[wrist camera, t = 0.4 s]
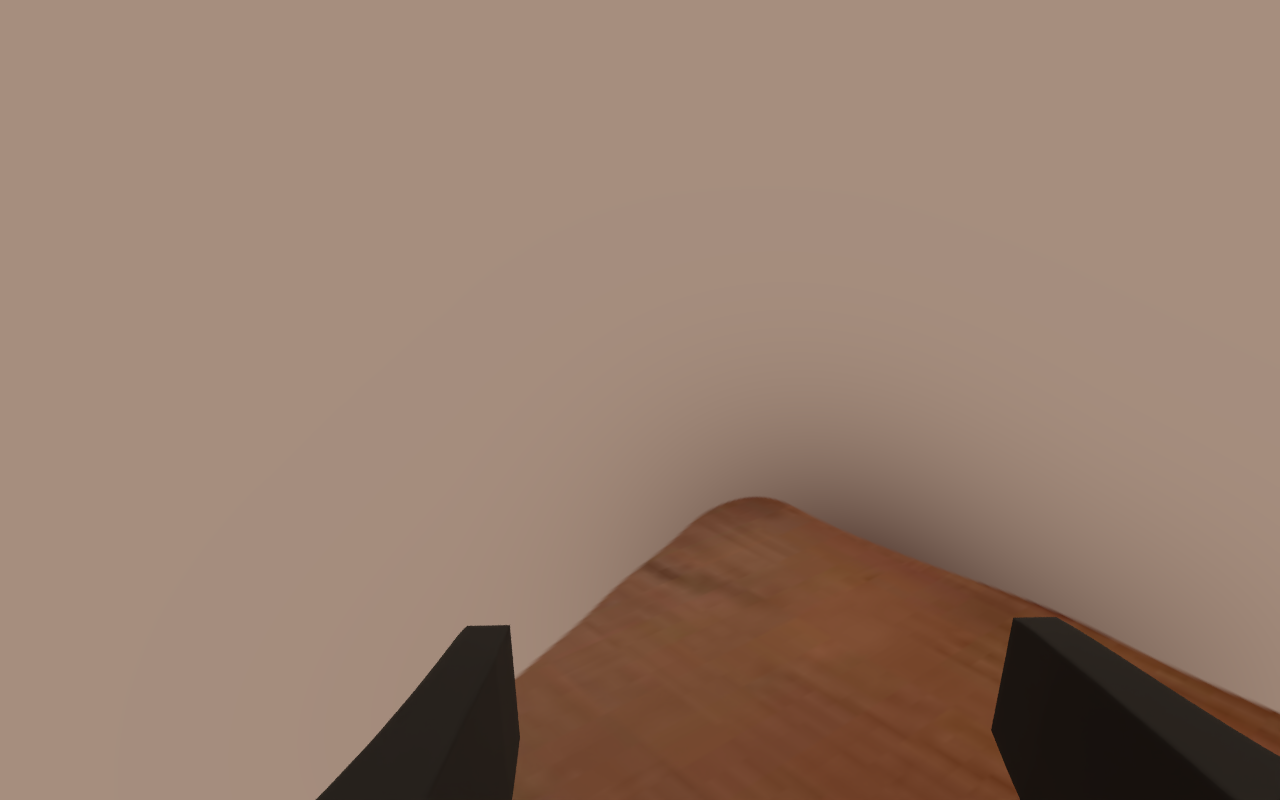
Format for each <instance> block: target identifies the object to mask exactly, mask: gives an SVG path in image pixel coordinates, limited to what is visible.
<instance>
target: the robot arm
mask: <svg viewBox="0 0 1280 800" xmlns="http://www.w3.org/2000/svg"><path fill="white" fill-rule="evenodd" d="M991 731H992V733H993V736H994V738H995V741H996V743H997V746H998V748H999V751H1000V753H1001V756H1002V758H1003V761H1004V763H1005V766H1006V768H1007V770H1008V773H1009V775H1010V777H1011V779H1012V782H1013V784H1014V786H1015V789H1016V791H1017V793H1018V795H1019V798H1020V800H1280V757H1279V756H1278V755H1276V754H1274V753H1273V752H1271V751H1269V750H1267V749H1266V748H1264V747H1262V746H1261V745H1259V744H1257V743H1256V742H1254V741H1252V740H1251V739H1249V738H1248V737H1246V736H1244V735H1243V734H1241V733H1239V732H1238V731H1236V730H1234V729H1233V728H1231V727H1230V726H1228V725H1226V724H1225V723H1223V722H1222V721H1220V720H1218V719H1217V718H1215V717H1214V716H1212V715H1210V714H1209V713H1207V712H1206V711H1204V710H1202V709H1201V708H1199V707H1198V706H1196V705H1195V704H1193V703H1191V702H1190V701H1188V700H1187V699H1185V698H1184V697H1182V696H1180V695H1179V694H1177V693H1176V692H1174V691H1173V690H1171V689H1170V688H1168V687H1167V686H1165V685H1163V684H1162V683H1160V682H1159V681H1157V680H1156V679H1154V678H1153V677H1151V676H1150V675H1148V674H1146V673H1145V672H1143V671H1142V670H1140V669H1139V668H1137V667H1136V666H1134V665H1133V664H1131V663H1130V662H1128V661H1126V660H1125V659H1123V658H1122V657H1120V656H1119V655H1117V654H1116V653H1114V652H1113V651H1111V650H1109V649H1108V648H1106V647H1105V646H1103V645H1102V644H1100V643H1098V642H1097V641H1095V640H1094V639H1092V638H1091V637H1089V636H1087V635H1086V634H1084V633H1082V632H1081V631H1079V630H1078V629H1076V628H1074V627H1073V626H1071V625H1069V624H1067V623H1066V622H1064V621H1062V620H1060V619H1059V618H1057V617H1033V618H1013V622H1012V627H1011V632H1010V637H1009V642H1008V647H1007V653H1006V658H1005V663H1004V668H1003V673H1002V678H1001V683H1000V688H999V693H998V698H997V703H996V708H995V714H994V719H993V724H992V729H991ZM519 740H520V733H519V722H518V711H517V700H516V689H515V678H514V667H513V656H512V645H511V635H510V625H498V626H467V627H466V628H465V629H464V630H463V631H462V632H461V633H460V634H459V635H458V636H457V637H456V639H455V640H454V641H453V643H452V644H451V646H450V647H449V648H448V649H447V650H446V652H445V653H444V654H443V656H442V657H441V658H440V659H439V661H438V662H437V663H436V665H435V666H434V667H433V668H432V670H431V671H430V672H429V673H428V675H427V676H426V677H425V679H424V680H423V681H422V682H421V683H420V685H419V686H418V687H417V688H416V690H415V691H414V692H413V693H412V694H411V696H410V697H409V698H408V699H407V700H406V702H405V703H404V704H403V705H402V706H401V707H400V709H399V710H398V711H397V712H396V713H395V714H394V716H393V717H392V718H391V719H390V720H389V721H388V723H387V724H386V725H385V726H384V727H383V729H382V730H381V731H380V732H379V733H378V734H377V735H376V736H375V738H374V739H373V740H372V741H371V742H370V743H369V744H368V745H367V747H366V748H365V749H364V750H363V751H362V752H361V753H360V754H359V755H358V756H357V757H356V758H355V759H354V760H353V761H352V762H351V764H350V765H349V766H348V767H347V768H346V769H345V770H344V771H343V772H342V773H341V774H340V775H339V776H338V777H337V778H336V779H335V781H334V782H333V783H332V784H331V785H330V786H329V787H328V788H327V789H326V790H325V791H324V792H323V793H322V794H321V795H320V796H319V797H318V798H317V799H316V800H512V795H513V788H514V780H515V773H516V764H517V756H518V748H519Z"/></svg>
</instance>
